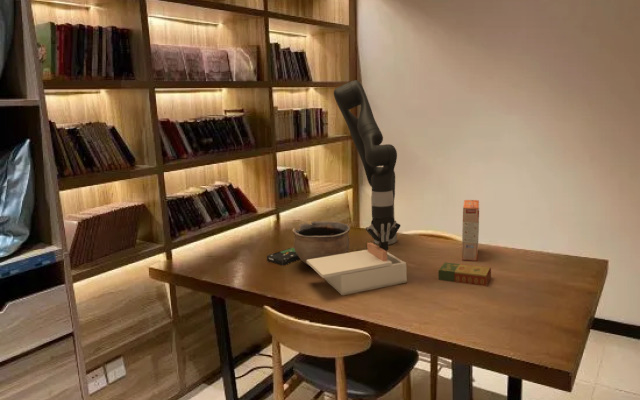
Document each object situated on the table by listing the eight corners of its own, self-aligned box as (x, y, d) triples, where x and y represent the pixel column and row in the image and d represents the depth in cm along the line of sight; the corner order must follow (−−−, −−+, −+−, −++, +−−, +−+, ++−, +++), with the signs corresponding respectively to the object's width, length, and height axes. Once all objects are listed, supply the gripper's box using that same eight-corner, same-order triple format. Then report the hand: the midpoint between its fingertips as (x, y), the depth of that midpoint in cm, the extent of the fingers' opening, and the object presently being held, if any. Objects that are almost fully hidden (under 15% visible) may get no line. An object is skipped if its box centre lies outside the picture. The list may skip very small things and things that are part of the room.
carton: (486, 287, 155) (486, 275, 154) (437, 280, 162) (437, 269, 162) (490, 278, 162) (491, 266, 161) (444, 272, 170) (444, 261, 169)
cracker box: (478, 261, 178) (479, 207, 173) (461, 260, 180) (462, 207, 175) (478, 250, 191) (479, 199, 186) (463, 249, 192) (463, 199, 188)
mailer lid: (370, 251, 173) (370, 240, 172) (392, 265, 158) (391, 253, 157) (306, 262, 165) (305, 251, 164) (322, 277, 150) (321, 265, 149)
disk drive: (283, 267, 185) (310, 256, 195) (282, 260, 184) (310, 250, 194) (266, 262, 192) (293, 252, 202) (266, 255, 192) (293, 246, 202)
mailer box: (384, 268, 176) (384, 250, 175) (406, 282, 161) (406, 263, 160) (324, 279, 168) (323, 260, 167) (341, 295, 154) (340, 275, 152)
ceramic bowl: (317, 252, 199) (315, 217, 196) (361, 260, 186) (360, 223, 183) (283, 268, 181) (280, 231, 178) (330, 278, 169) (328, 238, 166)
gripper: (394, 199, 167) (395, 245, 171) (360, 203, 163) (362, 251, 167) (404, 202, 160) (405, 251, 164) (369, 207, 156) (371, 257, 160)
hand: (383, 251), depth 165 cm, fingers closed
